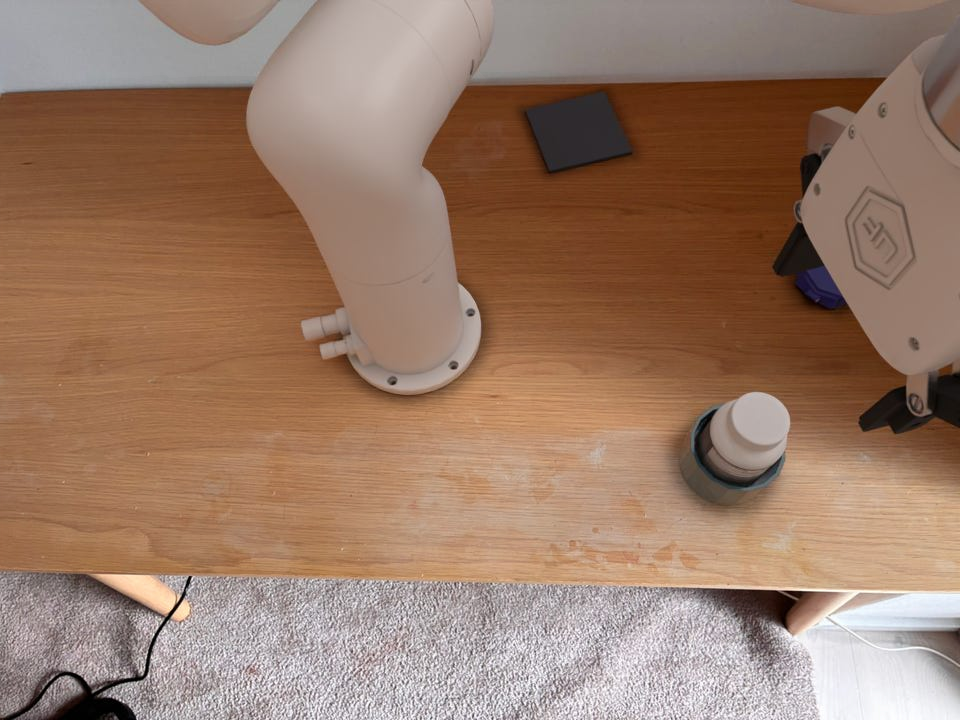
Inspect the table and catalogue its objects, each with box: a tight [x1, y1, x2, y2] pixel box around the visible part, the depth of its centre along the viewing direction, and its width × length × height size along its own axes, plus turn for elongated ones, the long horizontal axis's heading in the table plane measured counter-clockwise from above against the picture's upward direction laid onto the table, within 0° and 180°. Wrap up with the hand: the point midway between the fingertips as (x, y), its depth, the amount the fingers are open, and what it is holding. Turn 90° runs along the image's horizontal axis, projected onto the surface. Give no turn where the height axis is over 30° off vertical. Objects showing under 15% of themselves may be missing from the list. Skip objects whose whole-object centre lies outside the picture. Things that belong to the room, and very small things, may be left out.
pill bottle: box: [695, 391, 791, 487], centre depth 52 cm, size 5×5×10 cm
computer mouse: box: [795, 266, 848, 310], centre depth 63 cm, size 9×15×4 cm, turn 132°
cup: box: [678, 403, 786, 507], centre depth 54 cm, size 7×7×4 cm
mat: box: [524, 91, 634, 174], centre depth 73 cm, size 9×9×1 cm
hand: (840, 338), depth 37 cm, fingers open, 9 cm apart
